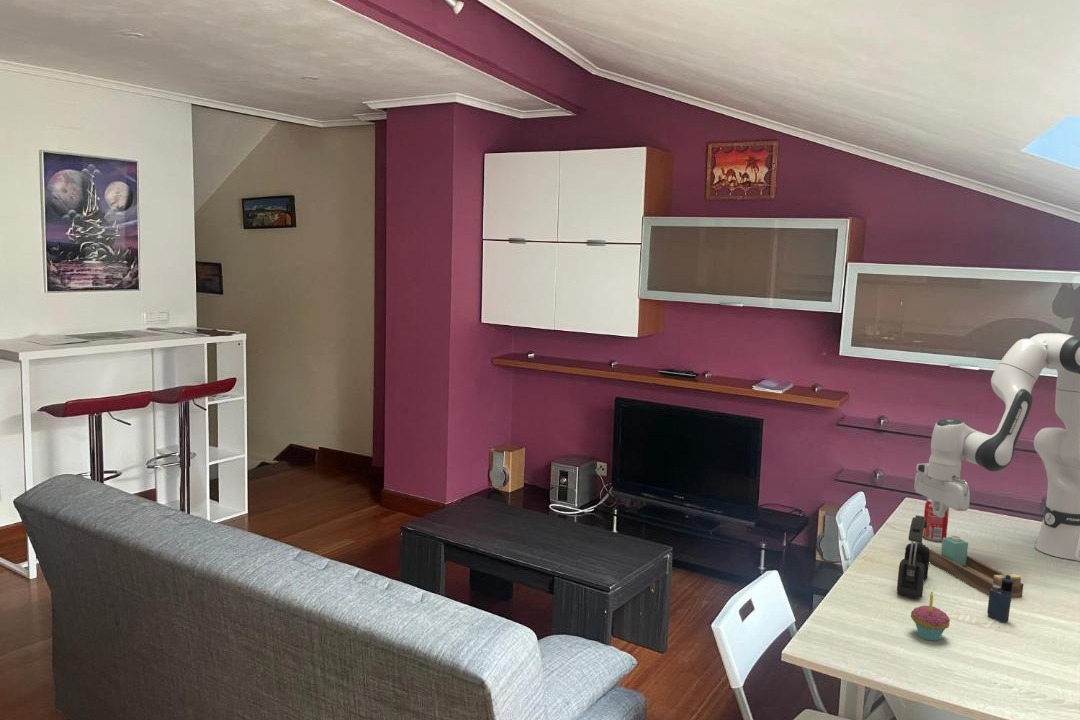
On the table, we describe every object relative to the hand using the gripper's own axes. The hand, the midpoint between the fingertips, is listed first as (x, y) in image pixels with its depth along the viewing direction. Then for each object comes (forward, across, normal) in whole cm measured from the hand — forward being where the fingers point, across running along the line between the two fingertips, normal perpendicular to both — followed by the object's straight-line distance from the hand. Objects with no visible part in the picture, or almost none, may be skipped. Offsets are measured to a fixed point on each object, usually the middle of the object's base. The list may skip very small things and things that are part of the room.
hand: (938, 516), depth 248 cm
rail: (+13, -16, -1) cm, 21 cm away
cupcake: (+14, -46, +37) cm, 61 cm away
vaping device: (+14, -40, +12) cm, 44 cm away
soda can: (+14, +16, -13) cm, 24 cm away
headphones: (+14, -18, +21) cm, 31 cm away
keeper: (+12, -7, -1) cm, 14 cm away
